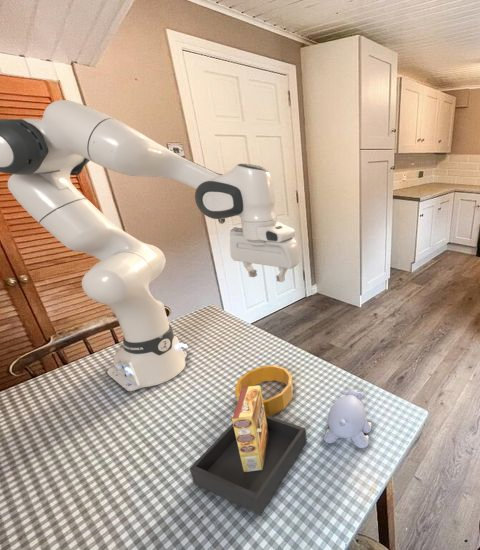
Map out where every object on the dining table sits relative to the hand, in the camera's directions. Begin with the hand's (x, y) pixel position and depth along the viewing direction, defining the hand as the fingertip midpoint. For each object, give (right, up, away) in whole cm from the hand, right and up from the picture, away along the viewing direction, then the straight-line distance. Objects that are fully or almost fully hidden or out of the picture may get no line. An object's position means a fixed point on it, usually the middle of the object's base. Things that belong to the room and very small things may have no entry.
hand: (266, 278), depth 84 cm
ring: (0, -33, +1) cm, 33 cm away
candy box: (+3, -39, -16) cm, 43 cm away
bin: (+3, -40, -17) cm, 44 cm away
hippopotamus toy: (+24, -37, -9) cm, 45 cm away
